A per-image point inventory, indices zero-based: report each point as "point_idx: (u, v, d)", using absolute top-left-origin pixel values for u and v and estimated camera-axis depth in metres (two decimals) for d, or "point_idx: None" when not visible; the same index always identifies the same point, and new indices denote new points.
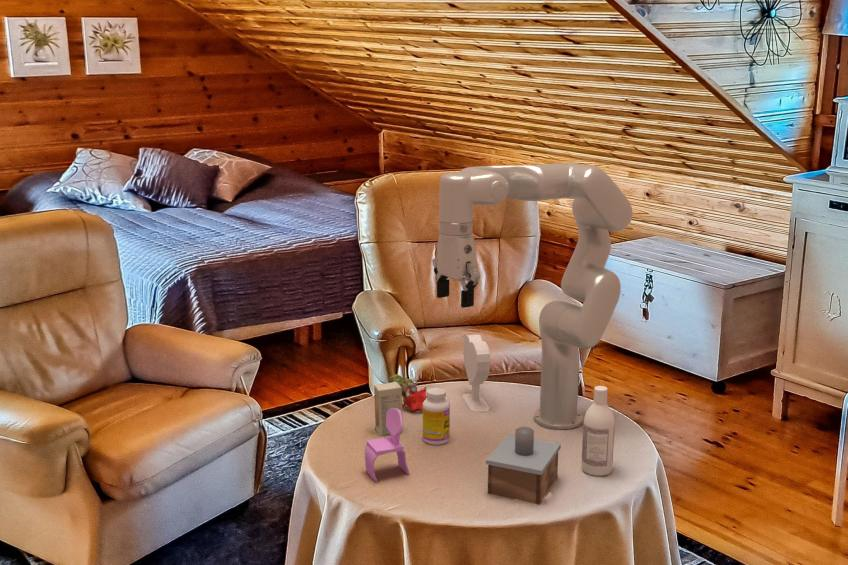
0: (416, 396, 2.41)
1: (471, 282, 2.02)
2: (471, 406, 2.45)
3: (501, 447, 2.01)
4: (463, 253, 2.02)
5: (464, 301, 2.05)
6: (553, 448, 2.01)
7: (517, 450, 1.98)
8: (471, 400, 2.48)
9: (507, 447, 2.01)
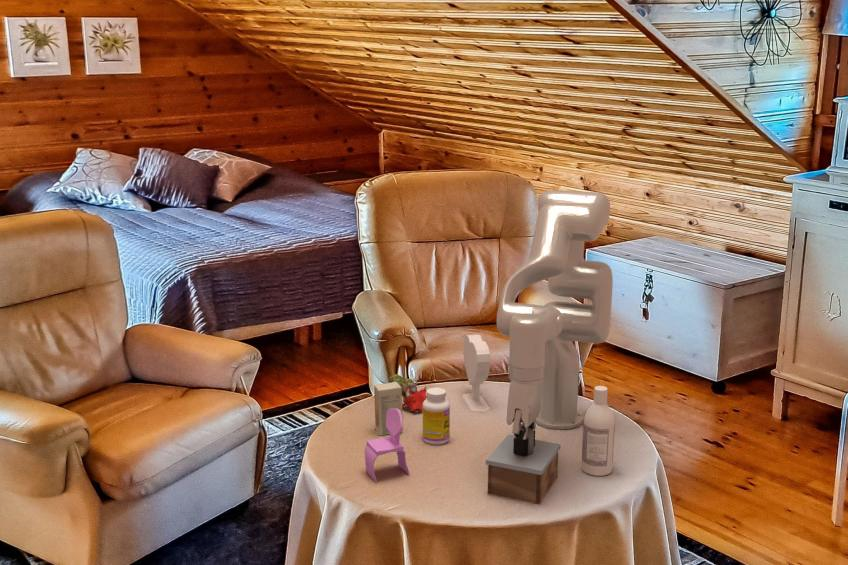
0: (416, 396, 2.41)
1: None
2: (471, 406, 2.45)
3: (501, 447, 2.01)
4: None
5: None
6: (553, 448, 2.01)
7: None
8: (471, 400, 2.48)
9: (507, 447, 2.01)
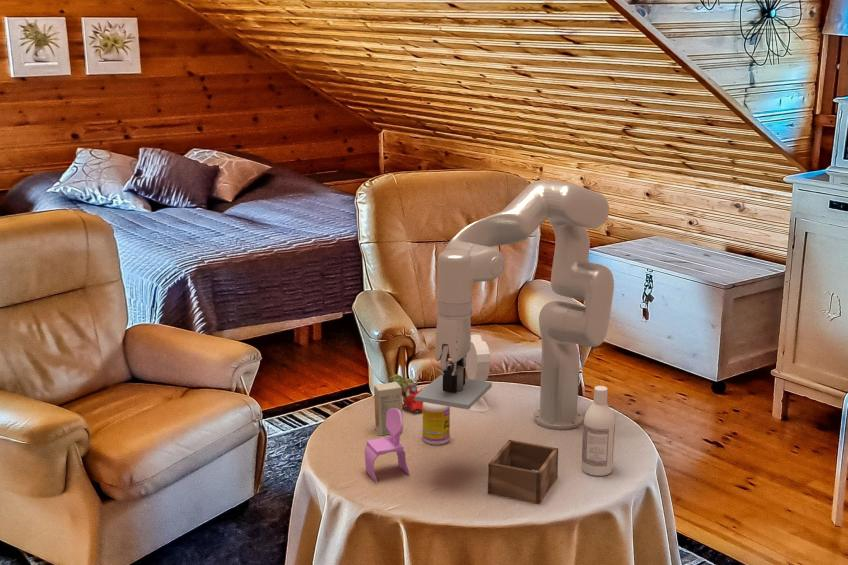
0: None
1: None
2: None
3: (432, 385, 2.03)
4: None
5: None
6: (483, 386, 2.02)
7: None
8: None
9: (438, 385, 2.03)
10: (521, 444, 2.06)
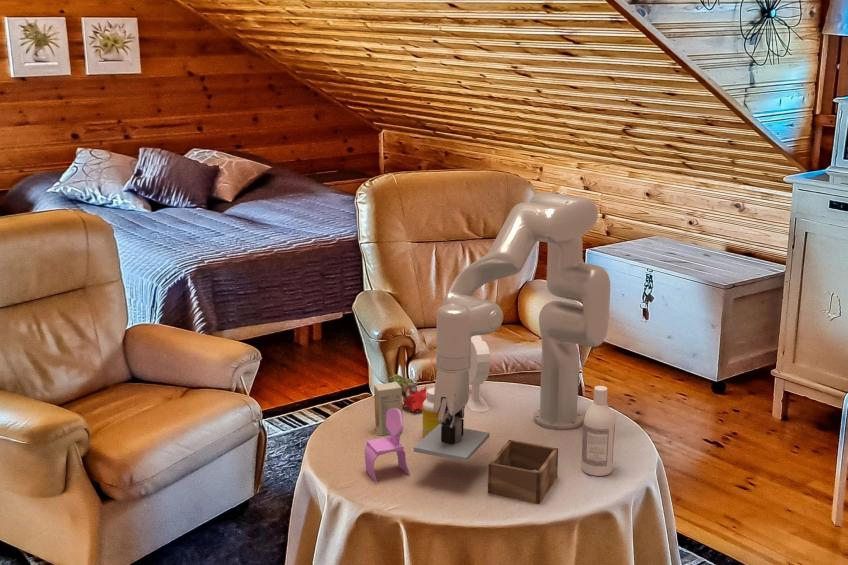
0: (416, 396, 2.41)
1: None
2: (471, 406, 2.45)
3: (430, 436, 2.06)
4: None
5: None
6: (481, 437, 2.05)
7: None
8: (471, 400, 2.48)
9: (436, 435, 2.06)
10: (521, 444, 2.06)
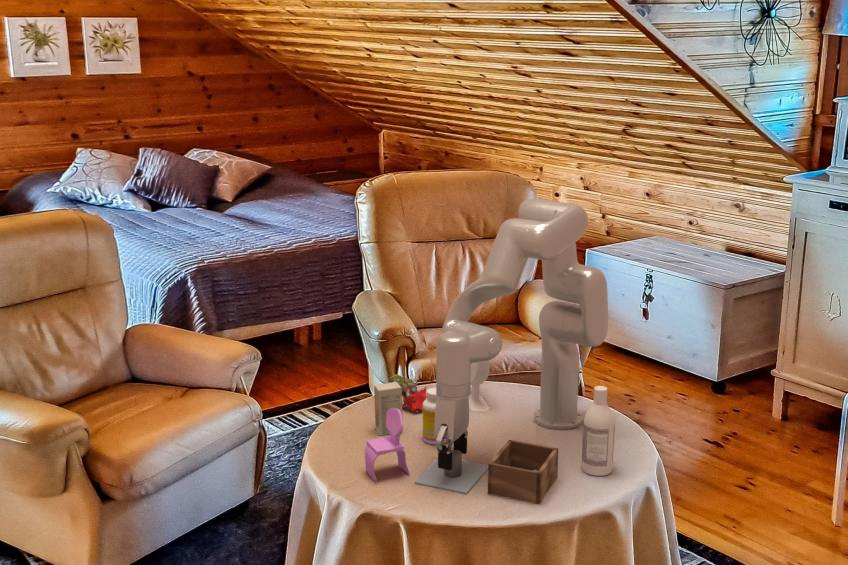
0: (416, 396, 2.41)
1: None
2: (471, 406, 2.45)
3: (431, 469, 2.08)
4: None
5: None
6: (481, 470, 2.07)
7: (445, 472, 2.04)
8: (471, 400, 2.48)
9: (437, 469, 2.08)
10: (521, 444, 2.06)
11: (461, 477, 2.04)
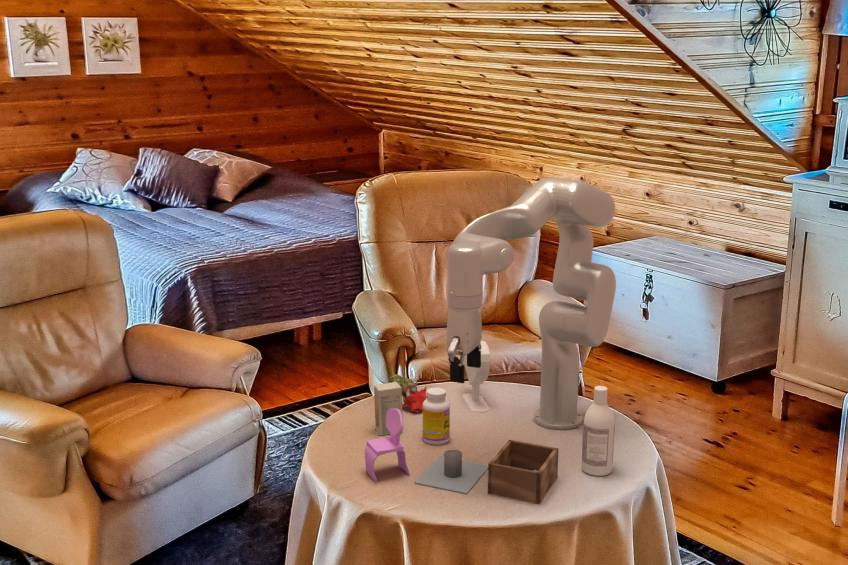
0: (416, 396, 2.41)
1: None
2: (471, 406, 2.45)
3: (431, 469, 2.08)
4: None
5: None
6: (481, 470, 2.08)
7: (446, 472, 2.04)
8: (471, 400, 2.48)
9: (437, 469, 2.08)
10: (521, 444, 2.06)
11: (461, 477, 2.04)
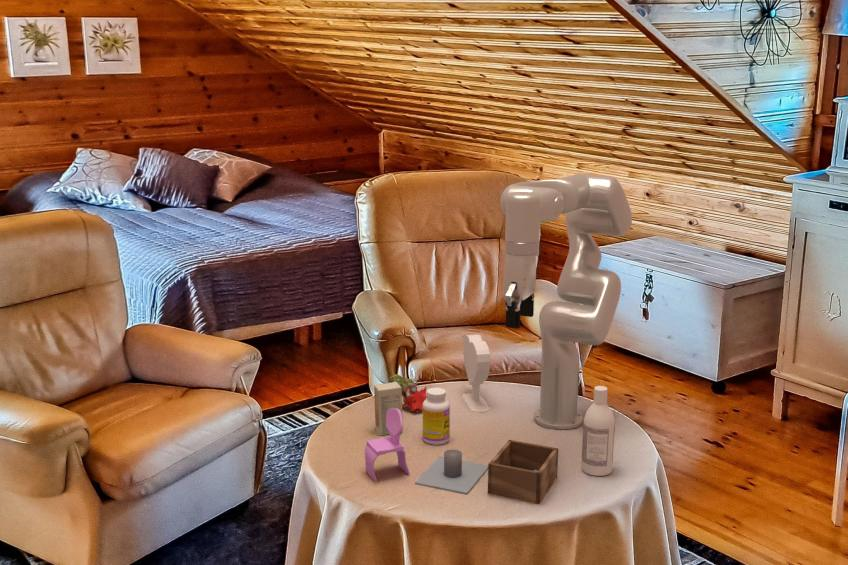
0: (416, 396, 2.41)
1: None
2: (471, 406, 2.45)
3: (431, 469, 2.08)
4: None
5: None
6: (481, 470, 2.08)
7: (446, 472, 2.04)
8: (471, 400, 2.48)
9: (437, 469, 2.08)
10: (521, 444, 2.06)
11: (461, 477, 2.04)
